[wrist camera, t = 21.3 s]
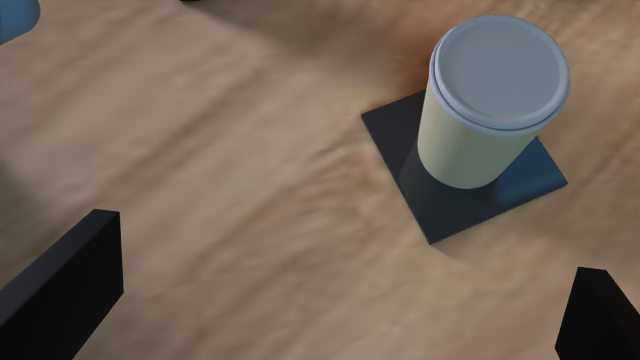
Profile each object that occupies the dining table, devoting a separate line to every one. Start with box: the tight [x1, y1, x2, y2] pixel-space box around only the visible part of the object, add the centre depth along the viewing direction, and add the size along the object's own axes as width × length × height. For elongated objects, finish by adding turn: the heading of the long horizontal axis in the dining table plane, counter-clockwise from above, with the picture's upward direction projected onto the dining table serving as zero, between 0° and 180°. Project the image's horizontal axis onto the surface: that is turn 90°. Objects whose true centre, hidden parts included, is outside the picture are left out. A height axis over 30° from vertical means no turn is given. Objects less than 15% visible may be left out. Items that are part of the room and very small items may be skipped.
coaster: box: [361, 90, 568, 245], centre depth 48 cm, size 13×13×1 cm
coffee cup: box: [418, 15, 570, 189], centre depth 43 cm, size 9×9×12 cm
